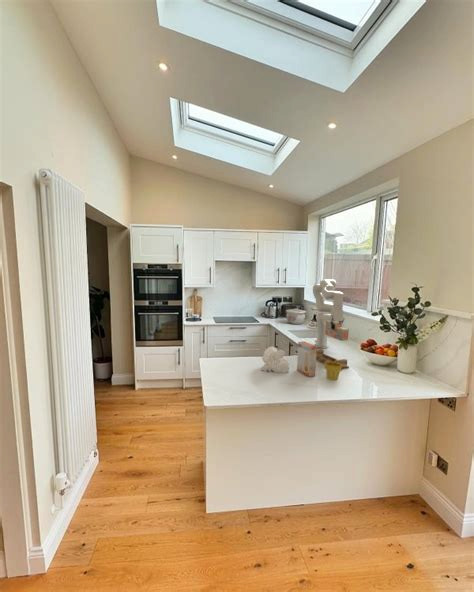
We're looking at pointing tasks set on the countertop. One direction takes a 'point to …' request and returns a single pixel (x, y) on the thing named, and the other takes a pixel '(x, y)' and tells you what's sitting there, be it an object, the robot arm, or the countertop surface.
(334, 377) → the plant pot
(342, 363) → the cradle
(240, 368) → the countertop surface
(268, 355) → the cauliflower
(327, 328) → the stack of blocks
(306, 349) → the cracker box
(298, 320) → the chamber pot
